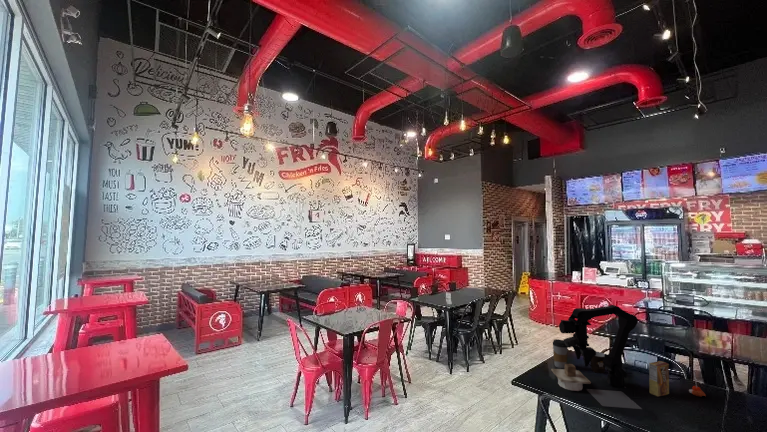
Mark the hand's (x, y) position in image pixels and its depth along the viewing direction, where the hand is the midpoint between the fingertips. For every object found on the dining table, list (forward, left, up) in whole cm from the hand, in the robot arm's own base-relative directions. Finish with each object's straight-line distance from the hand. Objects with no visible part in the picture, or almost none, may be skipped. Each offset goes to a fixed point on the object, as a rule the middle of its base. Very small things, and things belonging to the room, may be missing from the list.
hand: (582, 362), depth 178 cm
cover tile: (+7, +3, -7) cm, 10 cm away
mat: (-8, +14, -12) cm, 20 cm away
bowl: (+7, +3, -12) cm, 14 cm away
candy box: (-35, +4, -12) cm, 37 cm away
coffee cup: (+2, -24, -12) cm, 27 cm away
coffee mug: (-16, -21, -12) cm, 29 cm away
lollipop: (-53, +3, -12) cm, 54 cm away
